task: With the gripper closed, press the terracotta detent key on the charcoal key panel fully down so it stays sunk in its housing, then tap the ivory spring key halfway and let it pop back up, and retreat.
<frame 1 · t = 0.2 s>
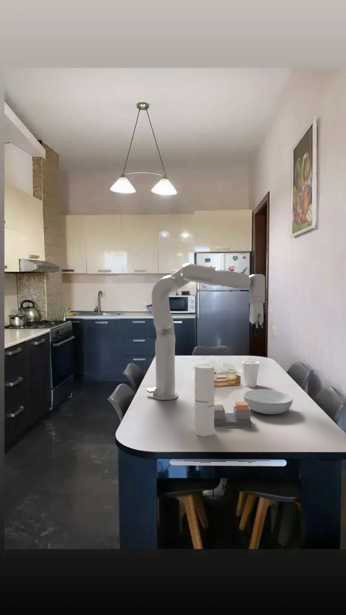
hand: (256, 334, 177), 31 cm above the table, fingers open, 9 cm apart
cylindrical container: (204, 432, 135), on the table
serving bowl: (267, 411, 159), on the table
key panel: (229, 422, 146), on the table
key terracotta: (241, 407, 145), point 6 cm above the table, slide at 0.0 cm
key ivory: (216, 406, 146), point 6 cm above the table, slide at 0.0 cm
foam cup: (250, 385, 201), on the table
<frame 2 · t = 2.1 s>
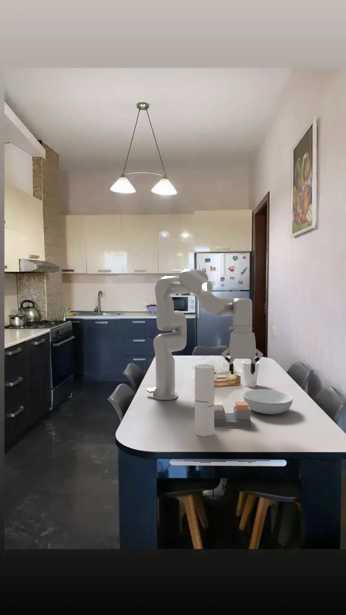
hand: (242, 373, 145), 20 cm above the table, fingers open, 7 cm apart
nothing on the table moved.
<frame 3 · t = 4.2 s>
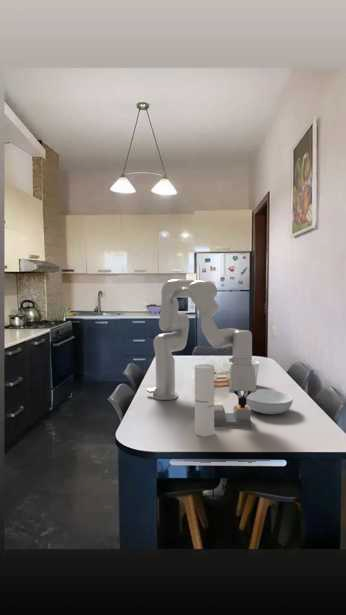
hand: (242, 406, 145), 6 cm above the table, fingers closed
key terracotta: (241, 410, 145), point 5 cm above the table, slide at 1.3 cm, touching gripper
everything else where it was.
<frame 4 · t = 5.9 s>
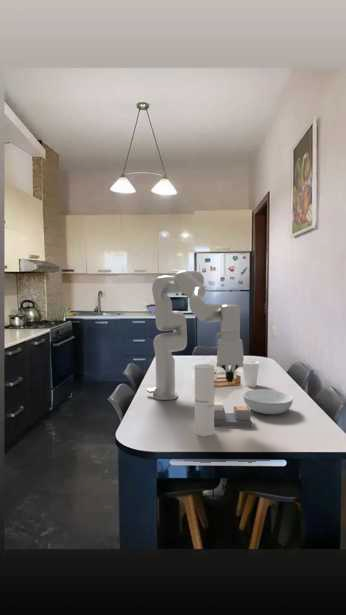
hand: (229, 381, 145), 17 cm above the table, fingers closed
key terracotta: (241, 411, 145), point 4 cm above the table, slide at 2.0 cm
everything else where it was.
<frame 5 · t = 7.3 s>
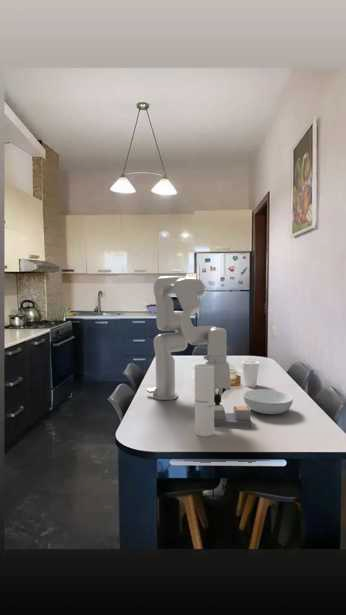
hand: (217, 404, 145), 7 cm above the table, fingers closed
key ivory: (216, 407, 146), point 6 cm above the table, slide at 0.4 cm, touching gripper
everything else where it was.
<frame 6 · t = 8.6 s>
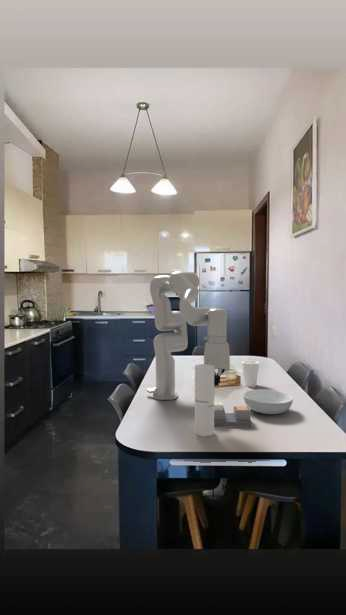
hand: (216, 384, 145), 15 cm above the table, fingers closed
key ivory: (216, 407, 146), point 6 cm above the table, slide at 0.1 cm
everything else where it was.
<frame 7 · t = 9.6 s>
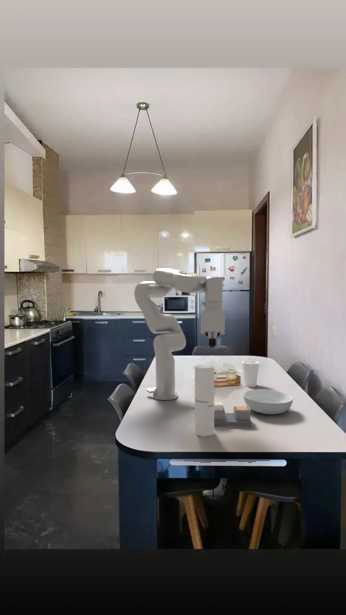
hand: (212, 347, 158), 28 cm above the table, fingers closed
nothing on the table moved.
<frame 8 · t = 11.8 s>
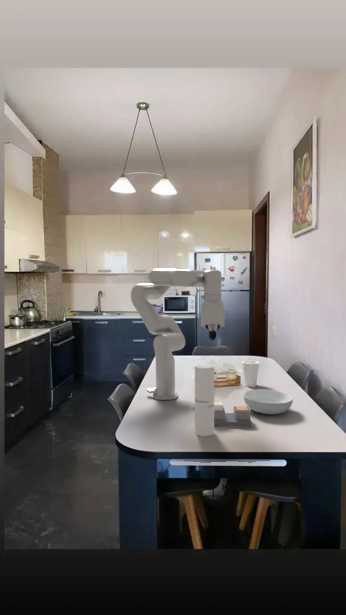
hand: (212, 339, 160), 31 cm above the table, fingers closed
nothing on the table moved.
at the end: key terracotta slide at 2.0 cm; key ivory slide at 0.1 cm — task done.
